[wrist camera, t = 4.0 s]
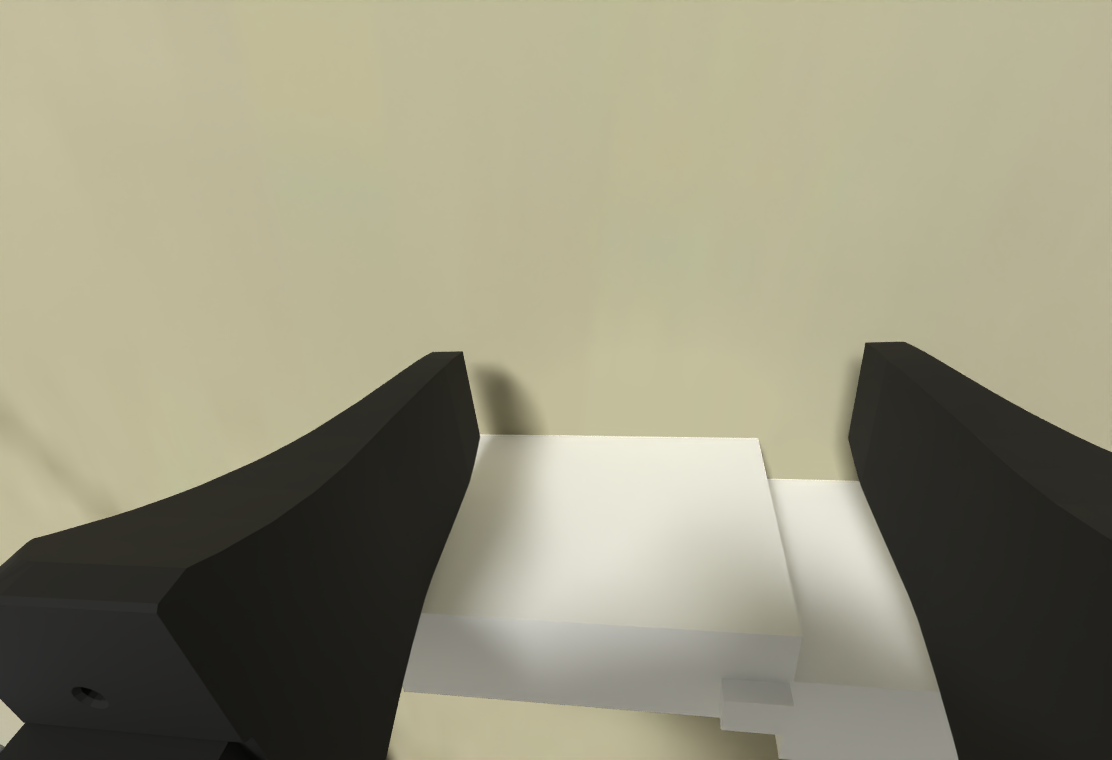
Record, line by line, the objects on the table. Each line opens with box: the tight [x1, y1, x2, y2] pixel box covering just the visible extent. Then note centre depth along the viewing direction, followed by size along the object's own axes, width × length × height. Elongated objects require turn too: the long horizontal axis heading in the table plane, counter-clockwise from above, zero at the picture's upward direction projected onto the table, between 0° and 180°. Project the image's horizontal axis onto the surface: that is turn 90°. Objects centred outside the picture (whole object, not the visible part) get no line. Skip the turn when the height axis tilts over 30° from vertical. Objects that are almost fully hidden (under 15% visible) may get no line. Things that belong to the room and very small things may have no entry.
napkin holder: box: [402, 434, 958, 760], centre depth 13 cm, size 15×11×6 cm
